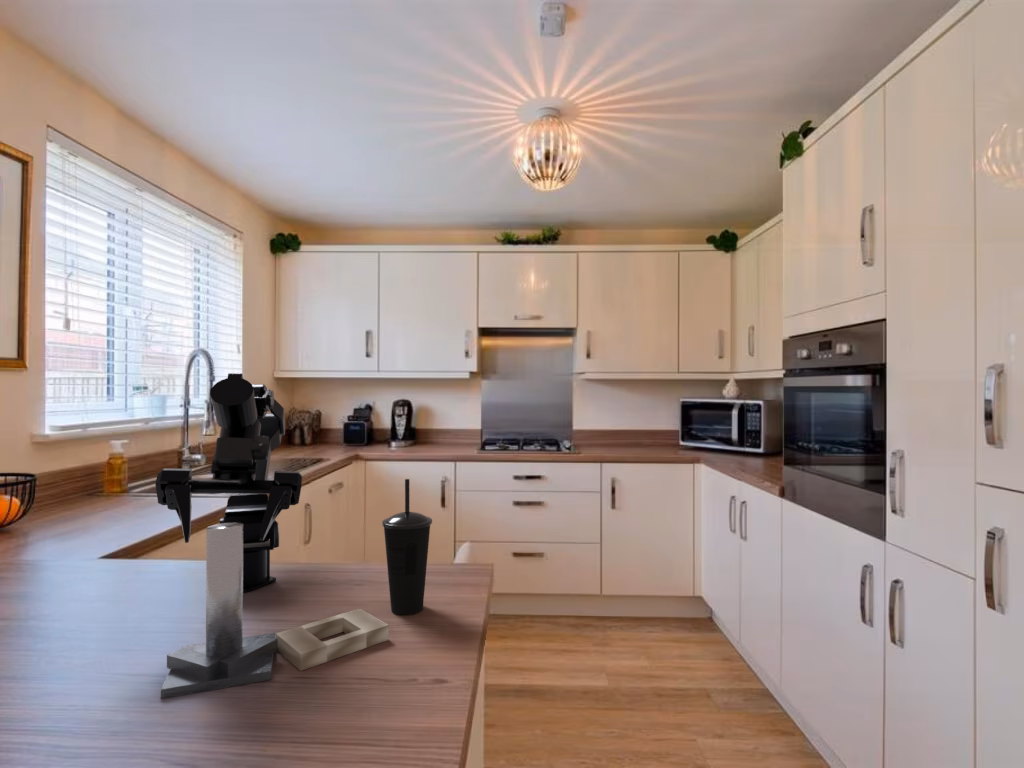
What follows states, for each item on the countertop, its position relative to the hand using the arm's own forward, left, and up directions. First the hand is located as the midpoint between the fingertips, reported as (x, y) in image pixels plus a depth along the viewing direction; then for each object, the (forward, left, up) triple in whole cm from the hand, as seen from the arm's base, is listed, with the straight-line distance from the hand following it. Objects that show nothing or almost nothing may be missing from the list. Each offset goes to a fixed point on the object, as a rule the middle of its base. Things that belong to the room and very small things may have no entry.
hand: (225, 540), depth 75 cm
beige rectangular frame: (-5, +15, -13) cm, 21 cm away
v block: (+6, +7, -13) cm, 16 cm away
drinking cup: (-18, +17, -14) cm, 29 cm away
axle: (+5, +7, -12) cm, 15 cm away
